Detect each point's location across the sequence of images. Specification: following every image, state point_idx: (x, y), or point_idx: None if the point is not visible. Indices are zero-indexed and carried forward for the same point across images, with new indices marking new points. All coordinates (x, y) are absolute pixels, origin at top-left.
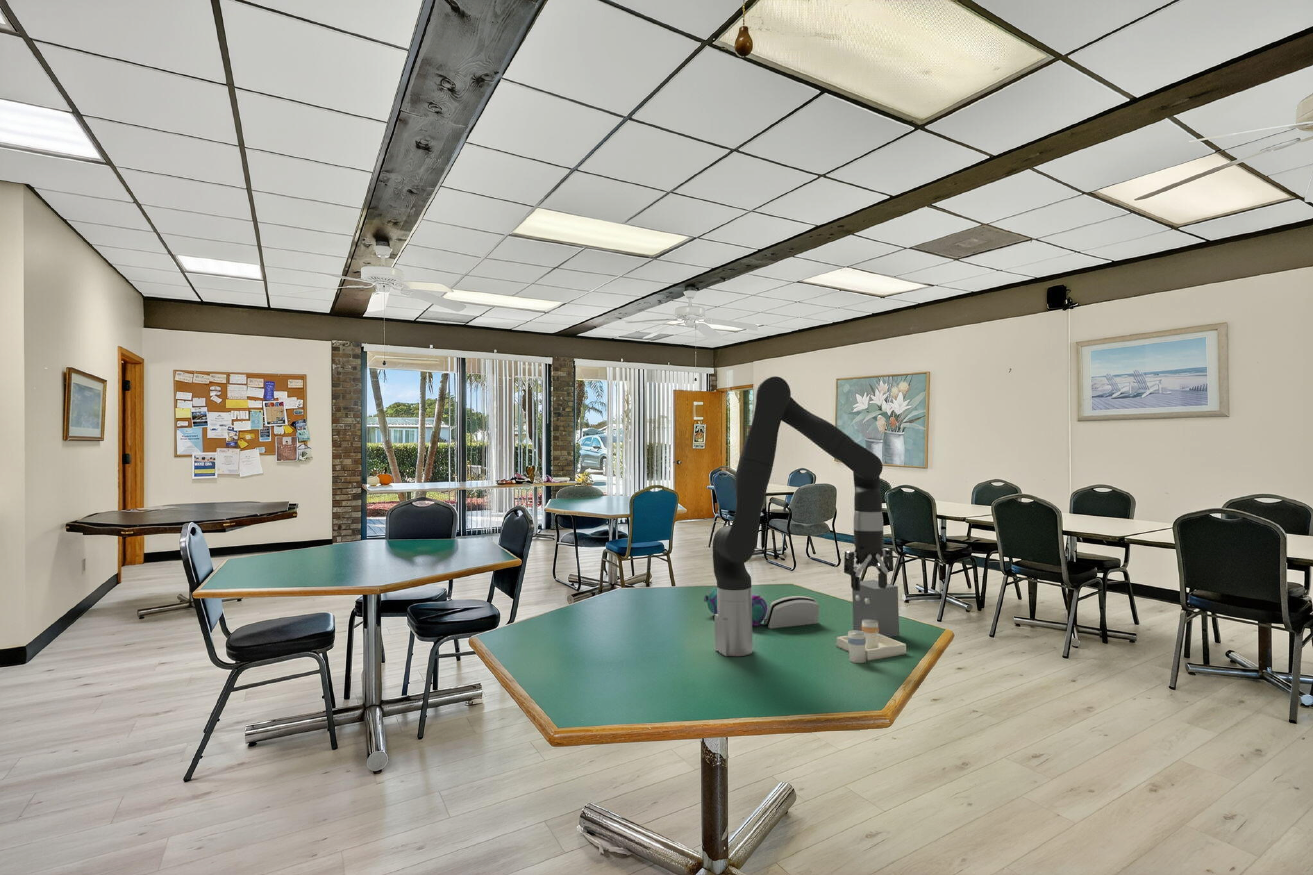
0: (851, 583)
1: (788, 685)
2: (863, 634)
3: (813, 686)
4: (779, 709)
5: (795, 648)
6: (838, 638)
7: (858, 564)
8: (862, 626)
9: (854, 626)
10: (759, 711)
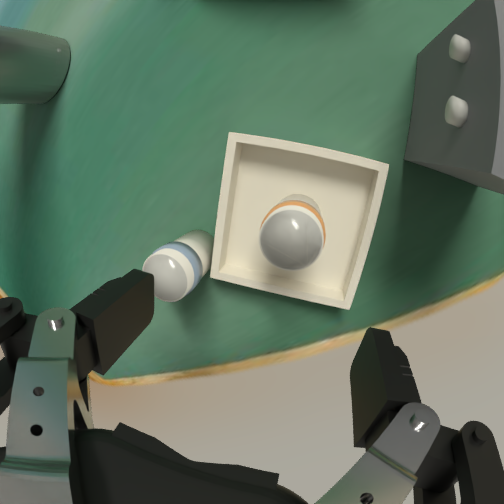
0: (96, 294)
1: (40, 257)
2: (171, 301)
3: (63, 283)
4: (21, 299)
5: (136, 94)
6: (228, 142)
7: (72, 410)
8: (262, 221)
9: (420, 56)
10: (8, 288)
